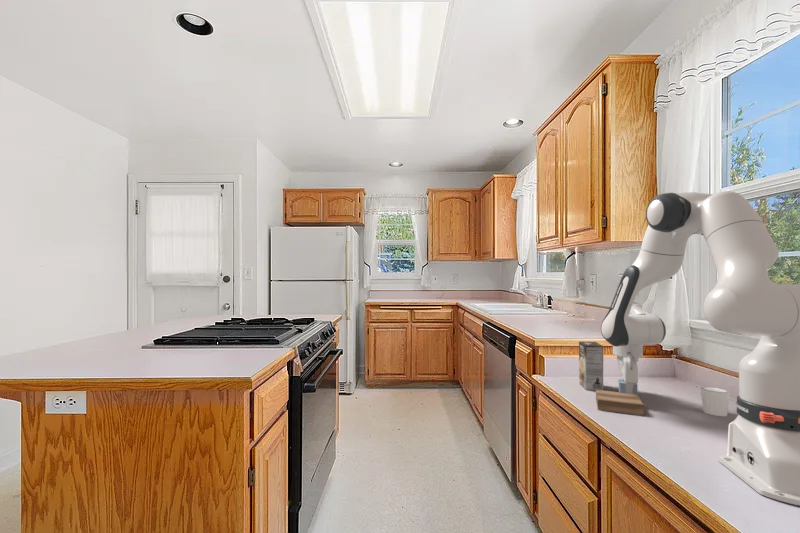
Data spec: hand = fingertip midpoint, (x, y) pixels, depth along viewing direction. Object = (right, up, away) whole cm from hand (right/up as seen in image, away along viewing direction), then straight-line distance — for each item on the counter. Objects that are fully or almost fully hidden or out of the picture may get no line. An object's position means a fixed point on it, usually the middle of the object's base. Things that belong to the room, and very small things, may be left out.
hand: (627, 391), depth 133 cm
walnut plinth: (-9, -2, -10) cm, 14 cm away
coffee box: (-7, -2, +12) cm, 14 cm away
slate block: (0, -2, 0) cm, 2 cm away
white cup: (+17, -2, -15) cm, 23 cm away
